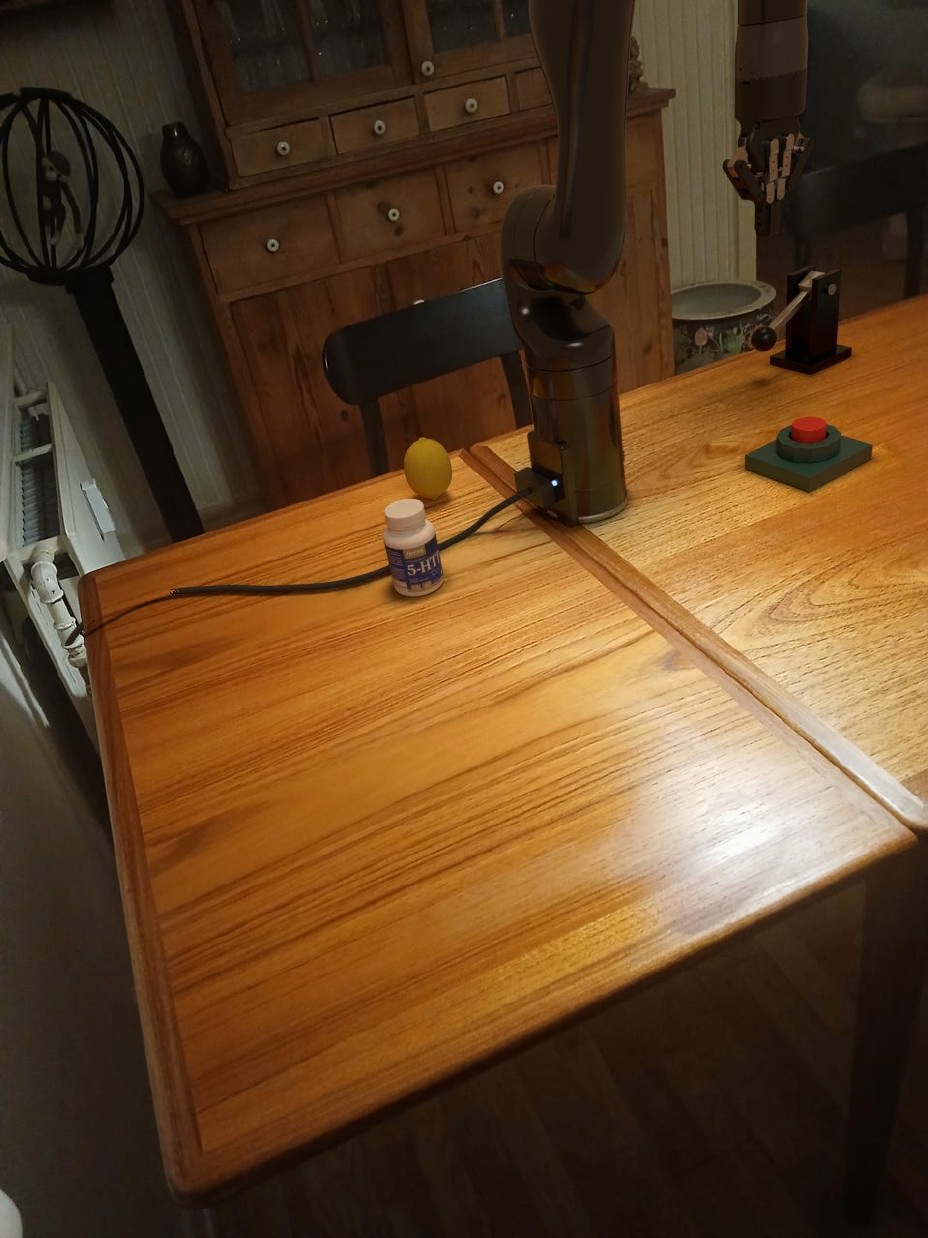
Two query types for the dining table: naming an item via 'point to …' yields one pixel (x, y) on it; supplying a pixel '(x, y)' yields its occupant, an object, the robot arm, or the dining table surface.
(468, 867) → the dining table surface
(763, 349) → the tap lever
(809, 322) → the black lever stand
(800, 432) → the push button
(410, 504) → the pill bottle
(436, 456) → the lemon
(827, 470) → the button block
